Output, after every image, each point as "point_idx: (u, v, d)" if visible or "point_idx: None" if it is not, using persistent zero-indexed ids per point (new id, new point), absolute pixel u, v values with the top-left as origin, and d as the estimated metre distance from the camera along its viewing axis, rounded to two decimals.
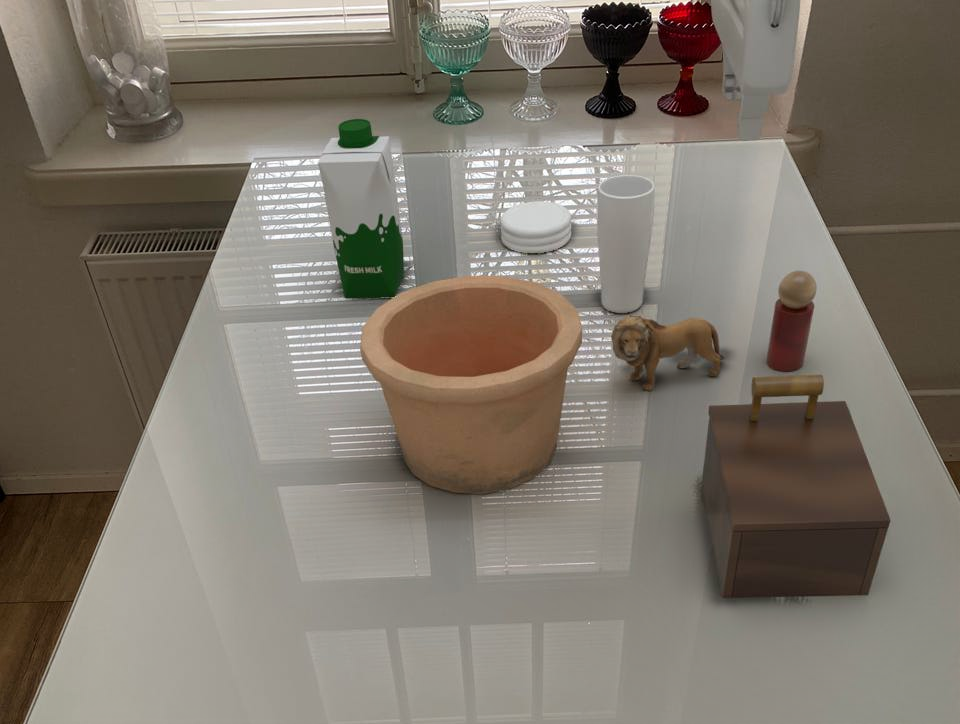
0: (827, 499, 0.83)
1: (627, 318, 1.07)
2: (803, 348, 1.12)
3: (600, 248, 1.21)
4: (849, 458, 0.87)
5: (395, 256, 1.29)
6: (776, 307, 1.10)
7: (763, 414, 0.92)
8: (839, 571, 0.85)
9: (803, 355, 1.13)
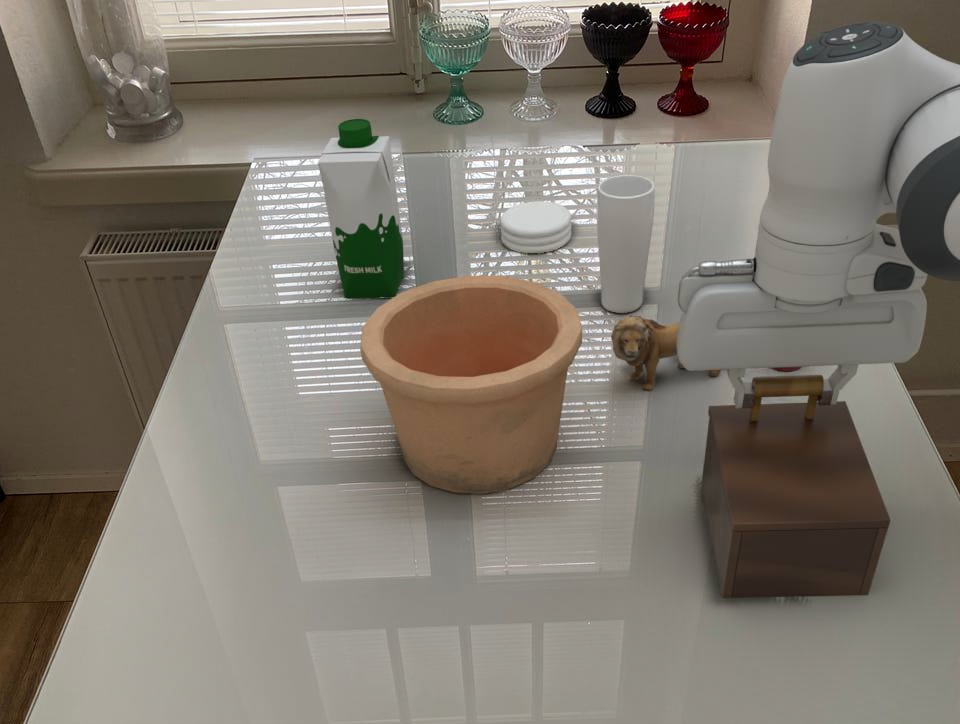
0: (827, 499, 0.83)
1: (627, 318, 1.07)
2: None
3: (600, 248, 1.21)
4: (849, 458, 0.87)
5: (395, 256, 1.29)
6: None
7: (763, 414, 0.92)
8: (839, 571, 0.85)
9: None
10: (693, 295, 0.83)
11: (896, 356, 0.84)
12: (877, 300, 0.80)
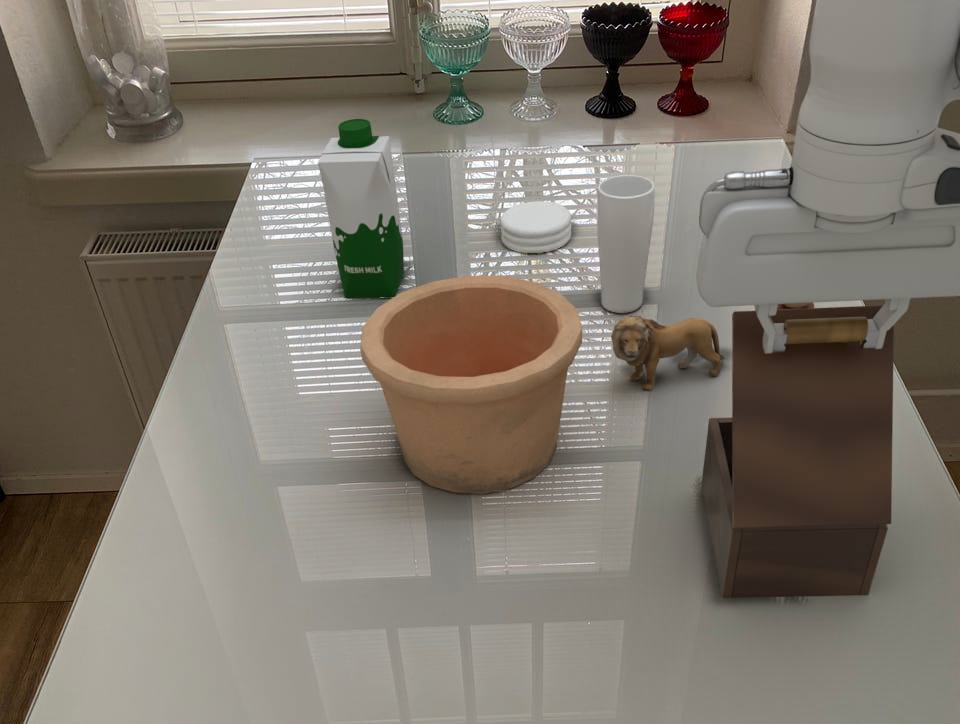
0: (835, 489, 0.81)
1: (627, 318, 1.07)
2: None
3: (600, 248, 1.21)
4: (873, 418, 0.80)
5: (395, 256, 1.29)
6: None
7: None
8: (839, 571, 0.85)
9: None
10: (717, 214, 0.70)
11: (956, 287, 0.72)
12: (937, 216, 0.67)
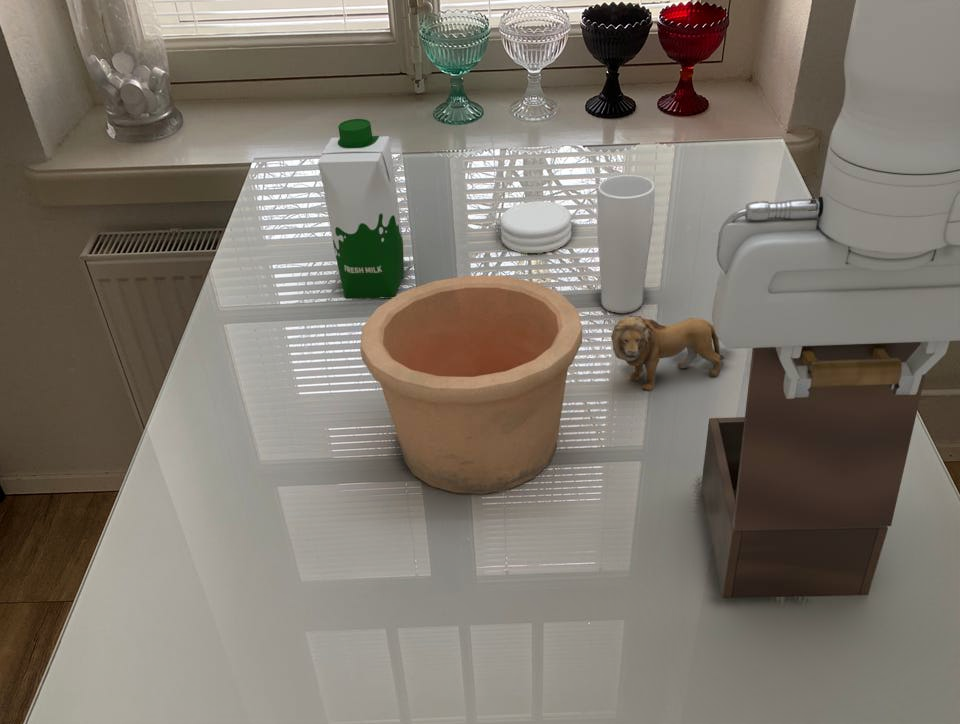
0: (840, 497, 0.79)
1: (627, 318, 1.07)
2: None
3: (600, 248, 1.21)
4: (892, 432, 0.75)
5: (395, 256, 1.29)
6: None
7: (822, 345, 0.72)
8: (839, 571, 0.85)
9: None
10: (737, 248, 0.63)
11: None
12: None
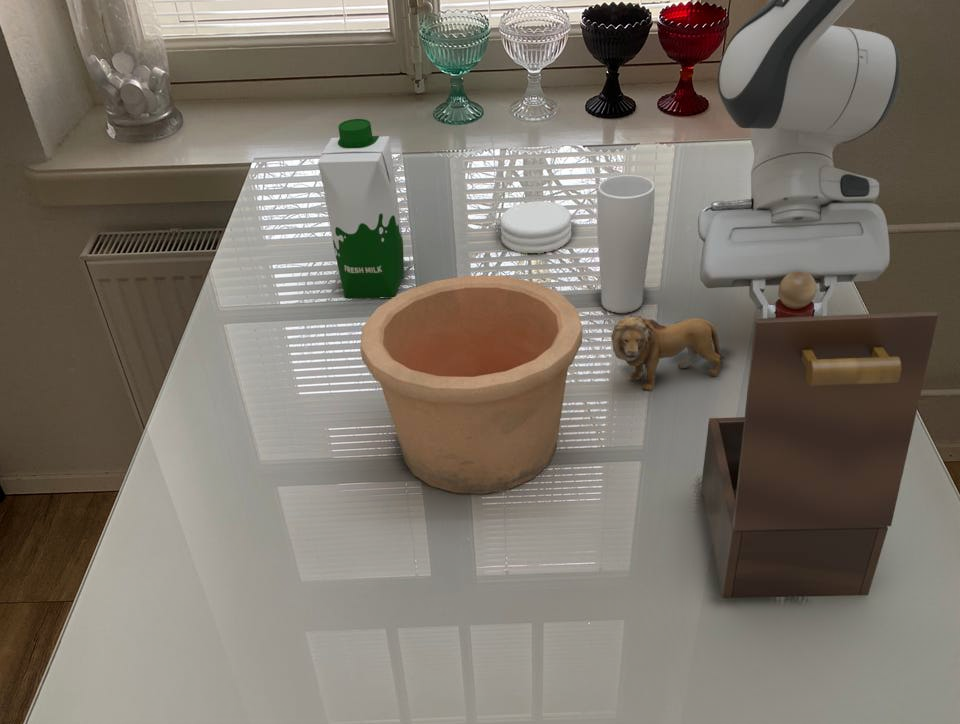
0: (840, 496, 0.79)
1: (627, 318, 1.07)
2: None
3: (600, 248, 1.21)
4: (892, 431, 0.76)
5: (395, 256, 1.29)
6: (776, 307, 1.10)
7: (821, 344, 0.72)
8: (839, 571, 0.85)
9: None
10: (709, 225, 1.11)
11: (873, 263, 1.08)
12: (847, 208, 1.07)
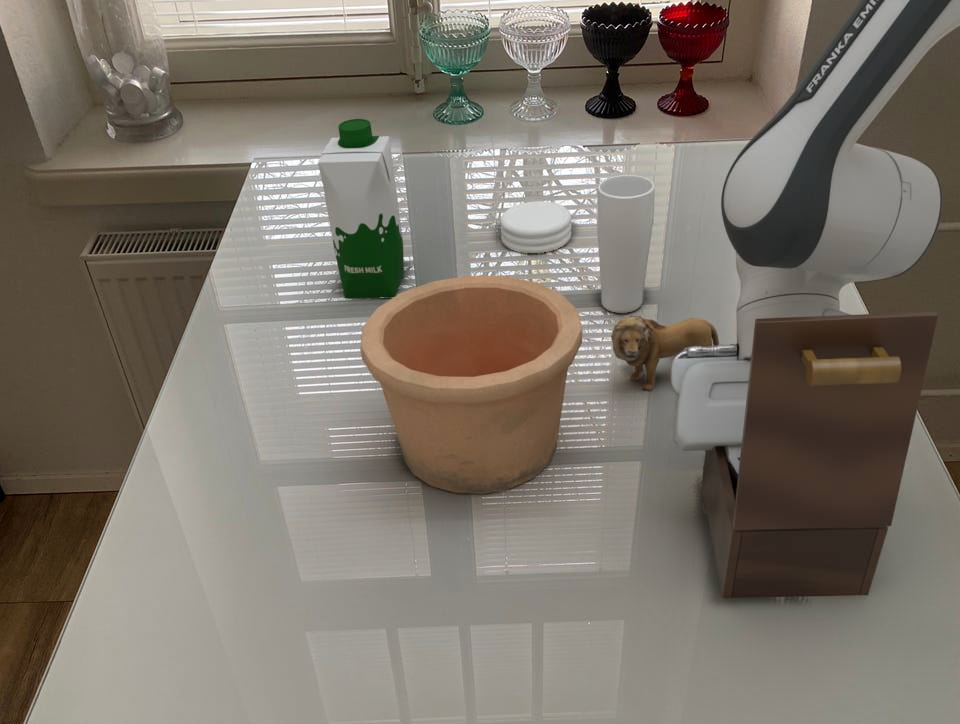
0: (840, 496, 0.79)
1: (627, 318, 1.07)
2: None
3: (600, 248, 1.21)
4: (892, 431, 0.76)
5: (395, 256, 1.29)
6: None
7: (821, 344, 0.72)
8: (839, 571, 0.85)
9: None
10: (684, 375, 0.89)
11: None
12: None
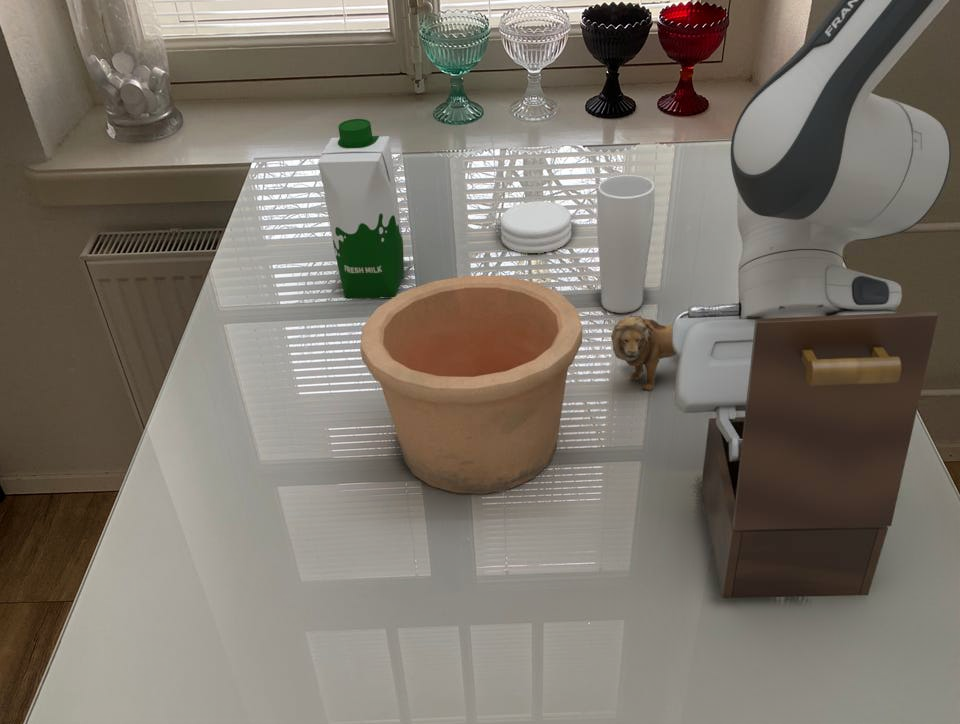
0: (840, 496, 0.79)
1: (627, 318, 1.07)
2: None
3: (600, 248, 1.21)
4: (892, 431, 0.76)
5: (395, 256, 1.29)
6: None
7: (821, 344, 0.72)
8: (839, 571, 0.85)
9: None
10: (685, 335, 0.88)
11: None
12: None
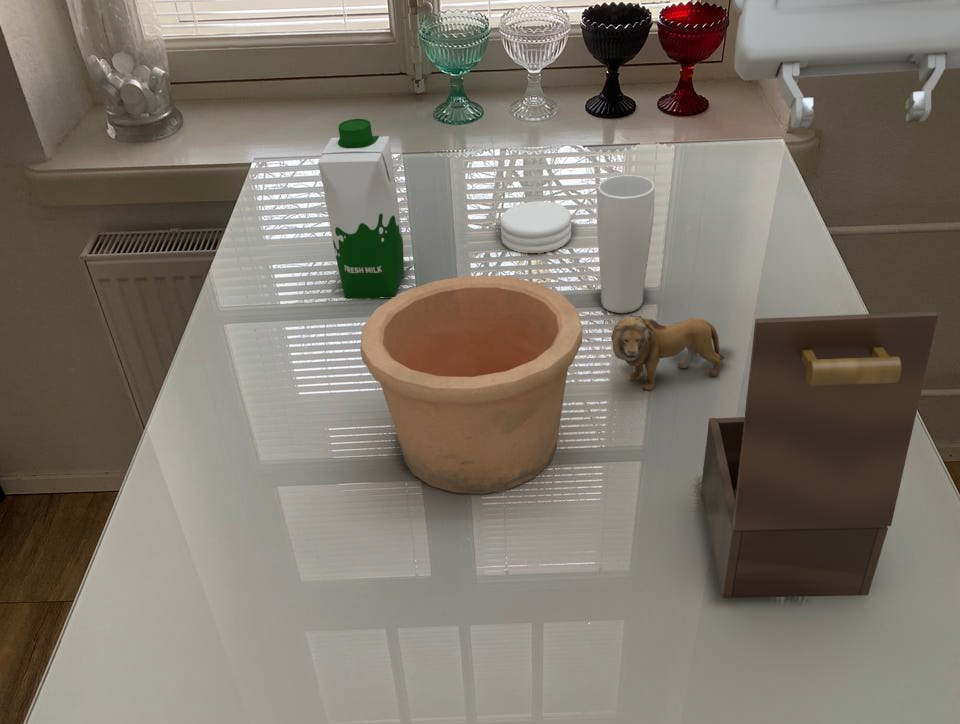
0: (840, 496, 0.79)
1: (627, 318, 1.07)
2: None
3: (600, 248, 1.21)
4: (892, 431, 0.76)
5: (395, 256, 1.29)
6: None
7: (821, 344, 0.72)
8: (839, 571, 0.85)
9: None
10: None
11: None
12: None
